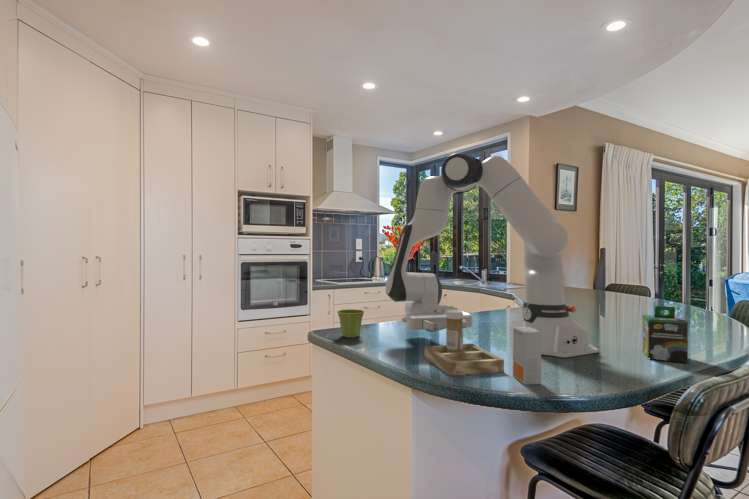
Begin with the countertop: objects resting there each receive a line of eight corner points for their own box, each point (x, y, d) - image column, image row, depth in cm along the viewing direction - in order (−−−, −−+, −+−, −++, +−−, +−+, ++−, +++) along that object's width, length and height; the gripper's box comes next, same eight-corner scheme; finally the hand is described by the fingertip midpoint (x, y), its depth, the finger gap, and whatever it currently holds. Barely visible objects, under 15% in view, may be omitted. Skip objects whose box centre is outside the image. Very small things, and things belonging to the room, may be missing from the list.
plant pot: (336, 333, 140) (337, 309, 140) (363, 333, 141) (363, 308, 140) (337, 339, 130) (337, 313, 130) (365, 339, 131) (365, 313, 131)
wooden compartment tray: (471, 353, 114) (472, 343, 114) (503, 371, 98) (504, 359, 98) (424, 357, 110) (424, 346, 110) (449, 376, 94) (449, 363, 94)
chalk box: (679, 355, 114) (679, 304, 113) (688, 364, 105) (689, 309, 105) (641, 352, 117) (641, 302, 117) (647, 360, 109) (648, 306, 109)
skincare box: (512, 376, 94) (512, 326, 94) (529, 375, 95) (529, 326, 95) (523, 385, 88) (524, 332, 88) (541, 384, 89) (542, 331, 89)
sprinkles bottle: (466, 360, 107) (466, 311, 107) (454, 363, 105) (454, 312, 104) (454, 356, 111) (454, 309, 111) (442, 359, 108) (442, 310, 108)
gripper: (400, 308, 122) (415, 316, 108) (460, 306, 127) (482, 313, 113) (399, 328, 122) (415, 338, 109) (460, 326, 127) (481, 335, 114)
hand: (449, 326), depth 111 cm, fingers open, 8 cm apart
